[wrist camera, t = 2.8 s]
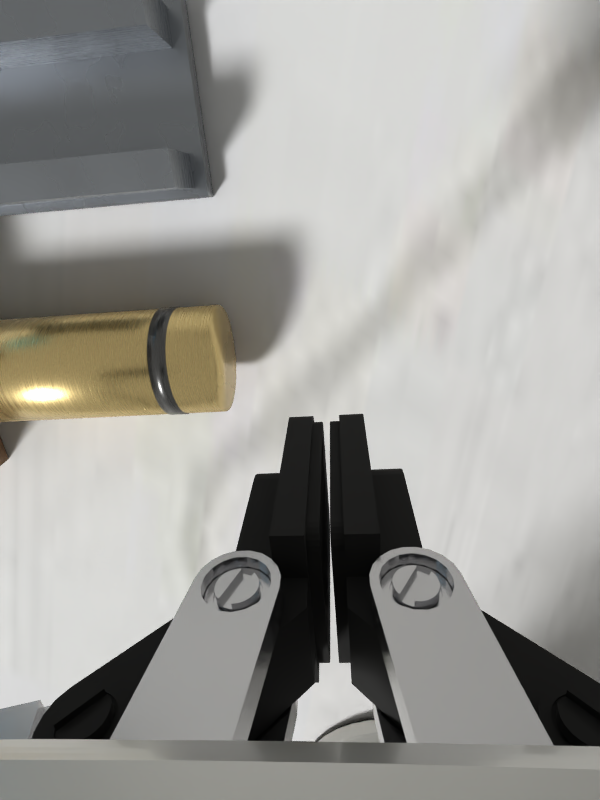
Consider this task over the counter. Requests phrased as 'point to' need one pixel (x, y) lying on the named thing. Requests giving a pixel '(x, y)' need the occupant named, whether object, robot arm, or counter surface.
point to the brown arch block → (2, 453)
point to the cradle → (98, 105)
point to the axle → (117, 364)
